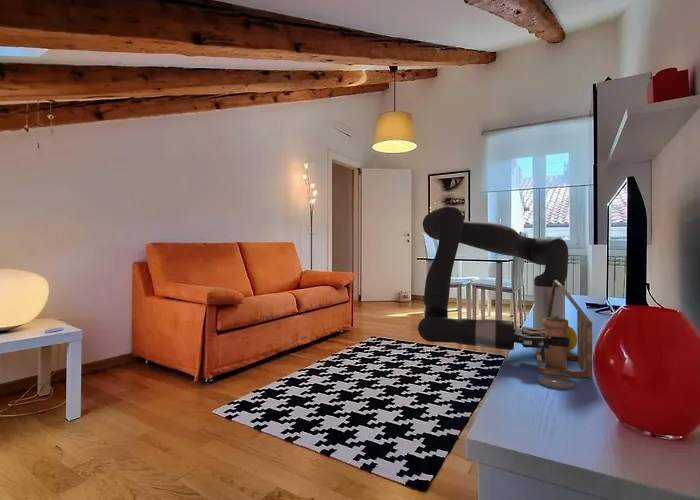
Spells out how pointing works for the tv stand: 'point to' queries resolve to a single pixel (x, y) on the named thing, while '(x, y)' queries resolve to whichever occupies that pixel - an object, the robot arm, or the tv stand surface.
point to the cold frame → (582, 342)
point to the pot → (555, 354)
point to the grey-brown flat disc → (556, 382)
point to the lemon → (571, 338)
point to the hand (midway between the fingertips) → (567, 339)
